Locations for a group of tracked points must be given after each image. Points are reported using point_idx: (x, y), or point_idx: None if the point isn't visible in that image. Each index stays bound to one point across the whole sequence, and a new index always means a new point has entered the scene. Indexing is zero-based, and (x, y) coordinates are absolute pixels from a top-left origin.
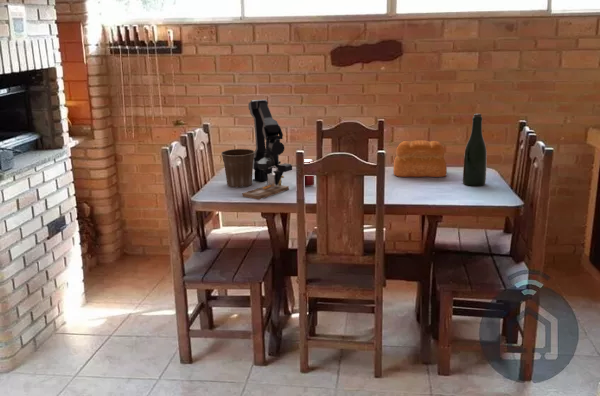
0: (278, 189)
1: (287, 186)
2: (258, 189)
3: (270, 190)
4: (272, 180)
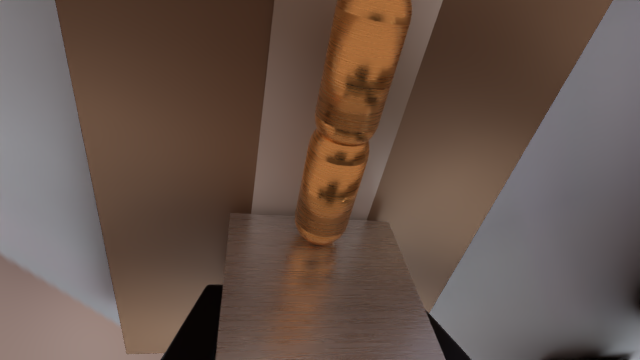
0: (108, 178)
1: (135, 346)
2: (524, 1)
3: (200, 31)
4: (287, 345)
